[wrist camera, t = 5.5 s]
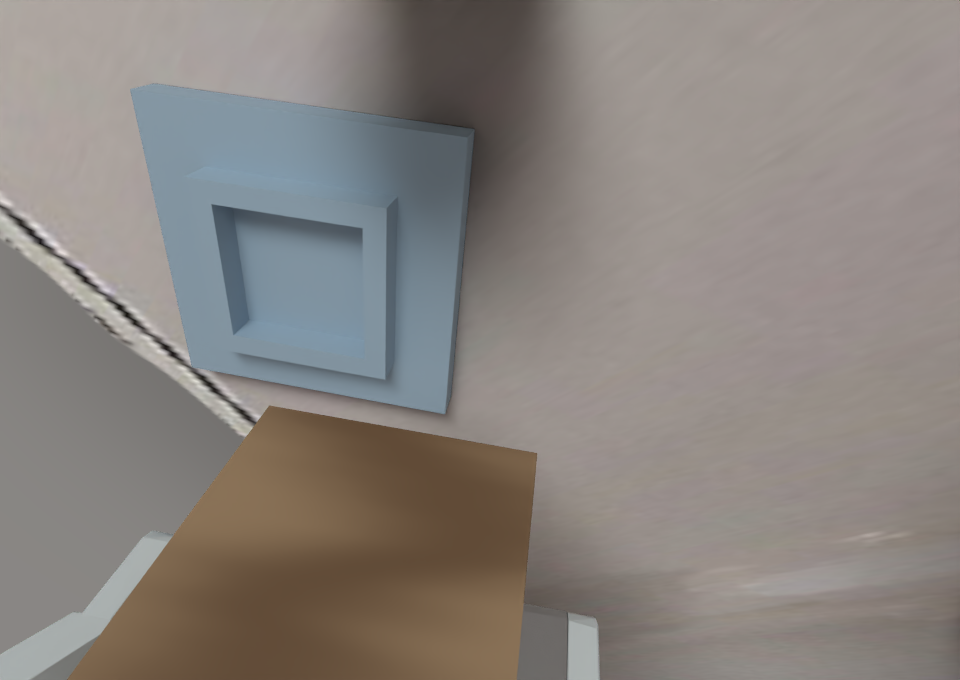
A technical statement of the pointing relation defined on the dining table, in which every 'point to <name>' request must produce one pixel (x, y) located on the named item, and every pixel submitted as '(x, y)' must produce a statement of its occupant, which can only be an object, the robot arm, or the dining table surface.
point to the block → (336, 563)
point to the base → (311, 240)
